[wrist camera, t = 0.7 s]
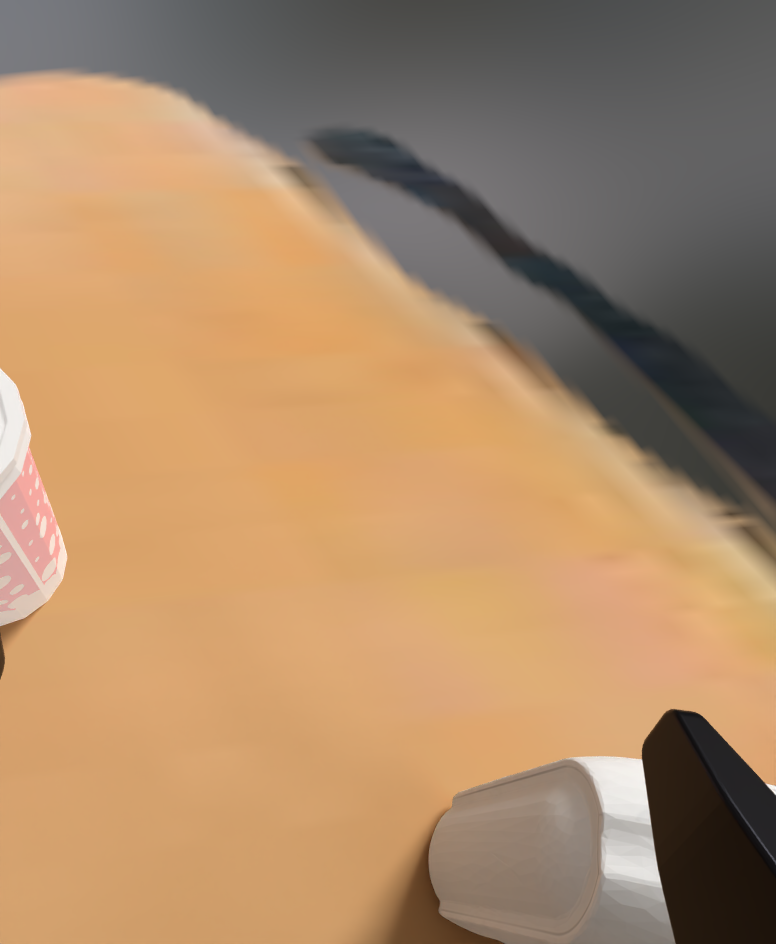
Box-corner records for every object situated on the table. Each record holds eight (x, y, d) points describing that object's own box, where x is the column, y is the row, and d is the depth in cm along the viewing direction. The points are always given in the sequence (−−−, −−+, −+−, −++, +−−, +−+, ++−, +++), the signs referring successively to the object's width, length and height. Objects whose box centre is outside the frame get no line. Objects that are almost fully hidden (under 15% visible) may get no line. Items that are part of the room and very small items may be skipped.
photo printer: (709, 845, 24) (1070, 829, 14) (718, 992, 22) (1158, 1110, 11) (436, 779, 23) (594, 710, 13) (415, 924, 21) (587, 981, 11)
